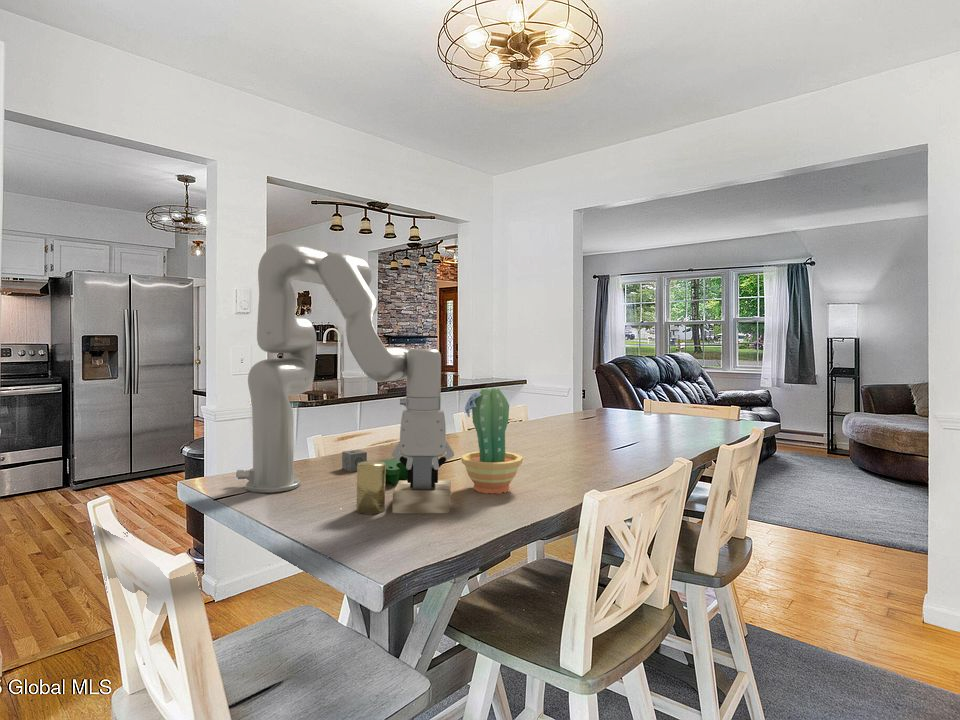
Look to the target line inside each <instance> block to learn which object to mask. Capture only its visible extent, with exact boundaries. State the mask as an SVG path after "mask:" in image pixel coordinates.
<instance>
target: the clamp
mask: <svg viewBox="0 0 960 720" xmlns="http://www.w3.org/2000/svg"><path fill="white" fill-rule="evenodd" d="M405 457H406V458H407V459H408V457H407V456H405ZM378 461H379V462H384V463H386V473H385V484H386V483H391V484H393V486H397V484H398V482H399V480H407V476H408V469H407V468H406V467H405V466H404V465H403V464H402V463H401V462H400V461H399V460H398V459H396V458H394V457H393V458H387V459H381V460H380V459H379V460H378Z"/></svg>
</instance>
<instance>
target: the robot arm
mask: <svg viewBox="0 0 960 720" xmlns="http://www.w3.org/2000/svg"><path fill="white" fill-rule="evenodd" d="M257 269H258V270H257V278H258V279H257V281H258V304H257V306H258V307H257V323H256V341H257V345H258V347H259V348H260V349H261V350H262V351H263V352H266V353H268V354H283V356H282V358H268V359H263V360H260V361H258V362H256V363H254V365H253V366H252V367H251V368H250V369H249V372H248V376H247V385H248V386H247V387H248V390H249V396H250V401H251V413H252V421H251V422H252V423H251V424H252V468H250V469H249V470H247V469H237V470H236V473H235V477H236V478H237V479H238V480H247V481H248V482H246V484H245V489H246V490H247V491H248V492H252V493H260V494H261V493H262V494H265V493H266V494H268V493H269V494H271V493H281V492H286V491H290V490H294V489H296V488H298V487H299V486H301V480H300V479H299V478H298V477H296V476H294V475H295V474H294V469H295V468H294V460H295V459H294V453H295V451H294V439H295V438H294V437H295V436H294V435H295V434H294V430H295V429H294V428H295V427H294V411H293V408H292V405H291V402H290V400H289V396H290V397H291V396H295V395H296V396H298V395H301V394H303V393H306V392H307V391H308V390H309V389H311V387H312V385H313V383H314V380H315V378H314V377H315V371H316V370H315V369H316V355H317V352H316V351H317V333H316V329H315V327H314V325H313V324H312V322H311V321H310V320H309V319H307V318H306V317H303V316H299V315H296V294H295V289H294V288H293V285H292V283H291V282H292V281H300V282H306V283H312V284H318V285H323V286H324V287H325V289H326V291H327V292H328V294H329V295H330V297H331V299H332V300H333V303H334V304H335V306H336V307H337V309H338V310H339V312H340V314H341V315H342V318H343V319H344V321H345V334H346V335H345V336H346V341H347V345H348V348H349V350H350V352H351V354H352V356H353V358H354V360H355V361H356V362H357V364H358V366H359V368H360V369H361V370H362V372H363V373H364V374H365V375H366V376H367V377H368V378H369V379H371V380H372V381H374V382H377V383H378V382H379V383H384V382H391V381H398V380H399V381H401V380H406V397H404V398H400V399H399V405H400V406H404V407H405V409H403V410H402V414H401V420H400V427H399V428H400V429H399V441H398V443H397V444H396V446H395V448H394V449H393V451H392V452H391V456H392V457H393V458H396V459H398V460H399V461H400V462H401V463H402V464H403V465H404V466H405V467H406V468H407V469H408V476H407V479H406V480H407V482H408V483H410V488H413V457H432V475H431V487H432V488H434V487H435V483H438V481H439V468H441V466H442V465H444V464H445V463H446V462H447V461H448V460H450V459H452V458H454V456H455V452H454V450H453V449H452V448H451V446H450V444H449V442H448V441H447V431H446V430H447V427H446V417H445V413H444V410H442V409H441V402H442V401H441V394H442V392H441V388H442V387H441V386H442V381H441V379H442V356H441V352H440V351H439V350H438V349H435V348H407V347H399V346H385V345H384V343H383V342H382V340H381V338H380V337H379V335H378V334H377V331H376V329H375V326H374V323H373V316H374V315H375V314H376V313H377V311H378V309H379V301H378V300H377V298H376V296H375V295H374V293H373V292H372V291H371V289H370V287H369V286H370V285H371V283H372V276H373V275H372V274H373V273H372V270H371V267H370V266H369V264H368V263H367V261H365V260H364V259H363V258H361V257H358V256H356V255H355V256H354V255H351V254H347V253H341V252H331V251H328V250H321V249H319V248H314V247H310V246H306V245H302V244H298V243H295V242H294V243H293V242H282V243H277V244H274V245H272V246H270V247H269V248H268V249H267V250H266V251H264V253H263V255H262V256H261V258H260V261H259V264H258V268H257ZM405 456H407V457H408V459H407V458H406V457H405ZM439 457H440V458H439Z"/></svg>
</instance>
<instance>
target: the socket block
mask: <svg viewBox="0 0 960 720" xmlns="http://www.w3.org/2000/svg"><path fill="white" fill-rule="evenodd" d="M451 481H452V480H438V483H435V487H434V488H432V490H413V488H410V483H408V482H407V479H401V480H398V484H397V485H395V488H394V491H393V493H392V514H450V510H449V509H450V508H451V507H450V506H451V498H452V494H451V492H452V490H451V489H452V487H451V485H452V484H451Z"/></svg>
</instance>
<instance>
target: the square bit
mask: <svg viewBox="0 0 960 720" xmlns="http://www.w3.org/2000/svg"><path fill="white" fill-rule="evenodd" d="M432 466H433V461H432V457H413V490H432V487H431V475H432Z"/></svg>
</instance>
